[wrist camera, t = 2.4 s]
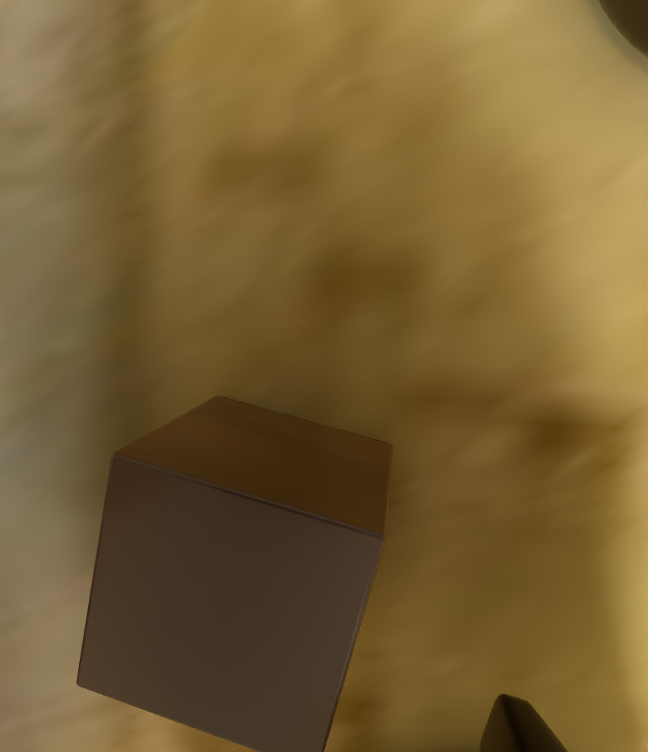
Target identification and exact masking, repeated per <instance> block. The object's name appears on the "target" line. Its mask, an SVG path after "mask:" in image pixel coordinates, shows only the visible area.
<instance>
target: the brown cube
mask: <svg viewBox="0 0 648 752" xmlns="http://www.w3.org/2000/svg"><path fill="white" fill-rule="evenodd" d="M392 455H393V446H392V445H391V444H387V443H384V442H380V441H377V440H373V439H370V438H366V437H362V436H359V435H355V434H352V433H348V432H345V431H341V430H337V429H334V428H330V427H327V426H323V425H319V424H316V423H312V422H309V421H305V420H302V419H298V418H294V417H291V416H287V415H284V414H280V413H277V412H273V411H269V410H266V409H262V408H259V407H255V406H251V405H248V404H244V403H241V402H237V401H234V400H230V399H226V398H223V397H219V396H216V397H214V398H212V399H210V400H208V401H207V402H205V403H203V404H201V405H199V406H198V407H196V408H194V409H192V410H190V411H189V412H187V413H185V414H183V415H181V416H180V417H178V418H176V419H174V420H172V421H171V422H169V423H167V424H165V425H163V426H162V427H160V428H158V429H156V430H154V431H153V432H151V433H149V434H147V435H145V436H144V437H142V438H140V439H138V440H136V441H135V442H133V443H131V444H129V445H127V446H126V447H124V448H122V449H120V450H118V451H117V452H115V453H114V454H113V455H112V457H111V464H110V470H109V477H108V483H107V490H106V496H105V502H104V509H103V515H102V522H101V528H100V534H99V541H98V547H97V554H96V560H95V567H94V573H93V579H92V586H91V592H90V599H89V605H88V611H87V618H86V624H85V631H84V637H83V644H82V650H81V656H80V663H79V669H78V676H77V682H76V683H77V685H78V686H80V687H83V688H85V689H88V690H91V691H94V692H96V693H99V694H102V695H105V696H107V697H110V698H113V699H116V700H118V701H121V702H124V703H127V704H129V705H132V706H135V707H138V708H140V709H143V710H146V711H149V712H151V713H154V714H157V715H159V716H162V717H165V718H168V719H170V720H173V721H176V722H179V723H181V724H184V725H187V726H190V727H192V728H195V729H198V730H201V731H203V732H206V733H209V734H212V735H214V736H217V737H220V738H223V739H225V740H228V741H231V742H234V743H236V744H239V745H242V746H245V747H247V748H250V749H253V750H256V751H258V752H324V750H325V746H326V743H327V739H328V736H329V732H330V729H331V725H332V722H333V719H334V715H335V712H336V708H337V705H338V701H339V698H340V694H341V691H342V687H343V684H344V680H345V677H346V673H347V670H348V667H349V663H350V660H351V656H352V653H353V649H354V646H355V642H356V639H357V635H358V632H359V628H360V625H361V621H362V618H363V615H364V611H365V608H366V604H367V601H368V597H369V594H370V590H371V587H372V583H373V580H374V576H375V573H376V569H377V566H378V563H379V559H380V556H381V552H382V549H383V545H384V542H385V538H386V526H387V514H388V502H389V490H390V478H391V467H392Z"/></svg>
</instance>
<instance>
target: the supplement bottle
mask: <svg viewBox="0 0 648 752" xmlns="http://www.w3.org/2000/svg"><path fill="white" fill-rule="evenodd" d="M599 3H600V5H601V6H602V8H603V9H604V11H605V13H606V14H607V16H608V18H609V19H610V21H611V22H612V23H613V24H614V26H615V27H616V28H617V29H618V31H619V32H620V33H621V34H622V35H623V36H624V37H625V38H626V39H627V40H628V41H629V42H630V43H631V44H632V45H633V46H634V47H635V48H636V49H638V50H639V51H640V52H641V53H643V54H644V55H645V56H647V57H648V0H599Z"/></svg>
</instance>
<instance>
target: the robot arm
mask: <svg viewBox="0 0 648 752" xmlns="http://www.w3.org/2000/svg"><path fill="white" fill-rule="evenodd" d="M480 752H568V751H567V749H566V748H565V747H564V746H563V744H562V743H561V742H560V741H559V739H558V738H557V737H556V736H555V734H554V733H553V732H552V731H551V729H550V728H549V727H548V725H547V724H546V723H545V722H544V720H543V719H542V718H541V717H540V715H539V714H538V713H537V712H536V710H535V709H534V708H533V707H532V705H531V704H530V703H528V702H527V701H525V700H522V699H519V698H516V697H513V696H510V695H507V694H500V695H499V696H498V697H497V698H496V700H495V703H494V705H493V708H492V711H491V714H490V716H489V719H488V722H487V724H486V727H485V730H484V733H483V735H482V739H481V745H480Z"/></svg>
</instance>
